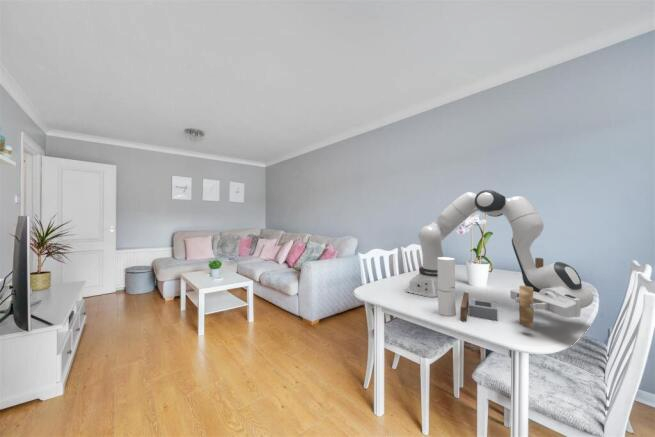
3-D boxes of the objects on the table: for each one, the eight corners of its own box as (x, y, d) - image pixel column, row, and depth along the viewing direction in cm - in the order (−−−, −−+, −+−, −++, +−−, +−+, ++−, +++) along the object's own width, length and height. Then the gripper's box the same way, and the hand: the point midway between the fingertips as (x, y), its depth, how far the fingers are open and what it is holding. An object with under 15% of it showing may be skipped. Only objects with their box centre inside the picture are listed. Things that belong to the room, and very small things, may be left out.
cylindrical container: (459, 315, 110) (458, 259, 110) (446, 317, 108) (445, 260, 108) (447, 309, 117) (446, 256, 117) (434, 311, 115) (433, 257, 115)
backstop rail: (460, 320, 104) (460, 306, 104) (464, 304, 123) (463, 292, 123) (466, 321, 103) (466, 307, 103) (468, 304, 122) (468, 292, 122)
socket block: (469, 316, 109) (469, 305, 109) (470, 309, 117) (470, 298, 117) (497, 321, 103) (497, 309, 103) (496, 313, 112) (495, 302, 112)
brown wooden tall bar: (520, 325, 91) (520, 287, 91) (518, 321, 95) (518, 285, 95) (534, 328, 89) (534, 289, 89) (532, 323, 93) (532, 286, 92)
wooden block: (545, 293, 135) (545, 260, 135) (533, 287, 146) (533, 257, 145) (553, 294, 134) (553, 261, 134) (541, 288, 145) (540, 257, 144)
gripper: (525, 284, 105) (499, 286, 102) (585, 300, 85) (554, 304, 82) (525, 298, 105) (499, 302, 102) (585, 318, 85) (554, 323, 82)
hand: (524, 303), depth 92 cm, fingers closed on brown wooden tall bar, 4 cm apart
